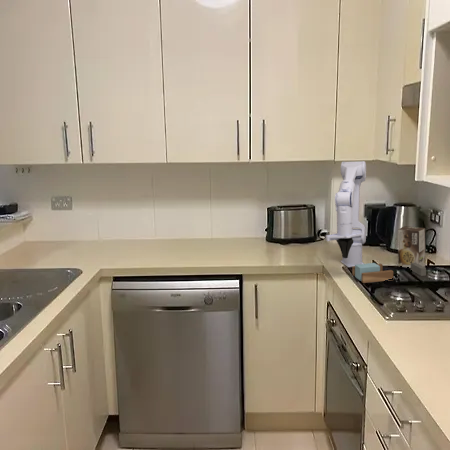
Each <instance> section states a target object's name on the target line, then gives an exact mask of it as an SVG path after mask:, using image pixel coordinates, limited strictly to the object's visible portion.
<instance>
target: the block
mask: <svg viewBox="0 0 450 450" xmlns="http://www.w3.org/2000/svg"><path fill="white" fill-rule="evenodd" d="M377 264H378V263H376V262H370V263H364V264H357V265H355V276H354V277H355V278H356V279H357V280H358V281H361V282H362V273H367V272H377V271H380V266H379V265H377Z"/></svg>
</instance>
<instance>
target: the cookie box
mask: <svg viewBox="0 0 450 450" xmlns="http://www.w3.org/2000/svg"><path fill="white" fill-rule="evenodd" d="M397 234H398V235H397V240H398V241H397V245H398V246H397V248H398V250H397V259H398V260H397V261H398V262H397V263H398V265H397V266H398V267H400V266H402V268H407V267H409V268H408V269H411V263H417V264H419V265H421V266H423V267H426V235H427V234H426V228H425V227H416V226H415V227H414V226H405V225H404V226H402V227H401V228H398V229H397Z"/></svg>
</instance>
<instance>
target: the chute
mask: <svg viewBox="0 0 450 450" xmlns="http://www.w3.org/2000/svg"><path fill="white" fill-rule="evenodd" d="M376 264H377V265H379V266H380V271H377V272H367V273H362V281H361V283H362V284H366V283H376V282H377V283H378V282H384V281H385V280H388V279H392V278H393V279H394V271H393V270H392V269H388V270H384V269H383V264H382V263H376ZM351 268H352V269H351V271H352V272H351V273H352V274H351V275H352V276H353V277H355V266H352V267H351ZM388 281H389V280H388ZM385 282H386V281H385Z"/></svg>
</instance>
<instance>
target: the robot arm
mask: <svg viewBox="0 0 450 450" xmlns="http://www.w3.org/2000/svg"><path fill="white" fill-rule="evenodd" d="M340 175H341V178H342V181H341V182H340V185H339V187H338V191H337V192H336V193H334V194H335V195H334V204H335V205H334V206H335V212H336V232H337V233H332V234H327V235H325V241H326V242H331V241H336V242H337V244H338V247H339V249H340V251H341V255H342V256H341V257H342V260H340V261H339V262H340V263H342V265H345V266H346V267H347V268H352V266H355V265H357V264H365V263H364V262H363V245H364V244H365V243H366V241H367V240H366V239H367V231H366V225H365V224H364V223H362V222H361V221H360V198H361V197H360V195H361V191H360V190H361V185H362V183H363V182H365V181H366V178H367V163H366V161H365V160H362V161H361V160H360V161H359V160H358V161H357V160H356V161H342V162H341V163H340Z"/></svg>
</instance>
